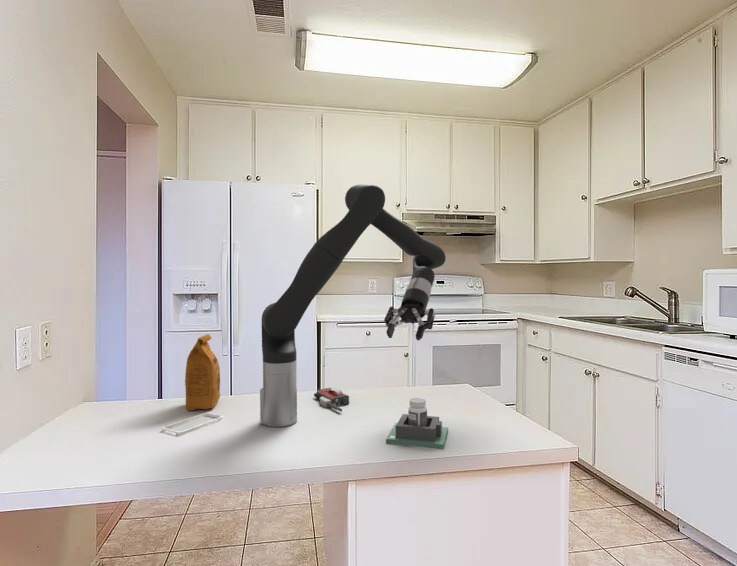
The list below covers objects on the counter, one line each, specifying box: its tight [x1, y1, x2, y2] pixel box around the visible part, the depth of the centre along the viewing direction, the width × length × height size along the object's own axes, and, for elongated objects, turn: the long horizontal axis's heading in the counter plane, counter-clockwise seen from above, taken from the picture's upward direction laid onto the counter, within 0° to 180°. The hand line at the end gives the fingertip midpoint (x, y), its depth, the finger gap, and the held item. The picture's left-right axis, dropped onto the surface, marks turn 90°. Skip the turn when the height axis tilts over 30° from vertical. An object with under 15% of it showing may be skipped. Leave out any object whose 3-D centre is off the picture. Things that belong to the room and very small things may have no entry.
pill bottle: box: [407, 397, 428, 426], centre depth 114 cm, size 5×5×8 cm
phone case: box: [161, 412, 224, 436], centre depth 124 cm, size 7×1×15 cm
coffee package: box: [184, 333, 221, 412], centre depth 141 cm, size 10×12×22 cm
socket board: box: [385, 413, 449, 449], centre depth 114 cm, size 14×12×4 cm
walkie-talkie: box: [313, 387, 350, 412], centre depth 143 cm, size 9×4×20 cm
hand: (403, 337), depth 128 cm, fingers open, 8 cm apart
